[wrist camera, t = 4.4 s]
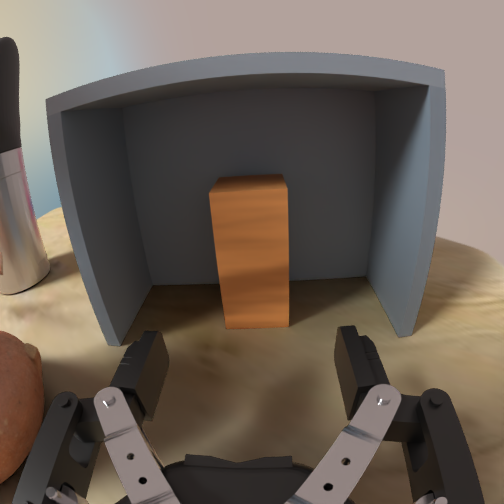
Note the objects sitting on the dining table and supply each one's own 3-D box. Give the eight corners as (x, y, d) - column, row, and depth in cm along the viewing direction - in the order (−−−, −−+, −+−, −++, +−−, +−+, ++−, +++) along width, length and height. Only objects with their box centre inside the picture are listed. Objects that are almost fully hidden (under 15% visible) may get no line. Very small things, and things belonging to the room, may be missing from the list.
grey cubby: (411, 335, 21) (444, 69, 13) (108, 345, 22) (45, 99, 14) (373, 269, 31) (381, 80, 22) (146, 279, 32) (115, 98, 24)
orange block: (288, 326, 24) (287, 188, 19) (226, 328, 24) (208, 193, 19) (284, 292, 28) (282, 173, 23) (231, 294, 28) (218, 177, 24)
